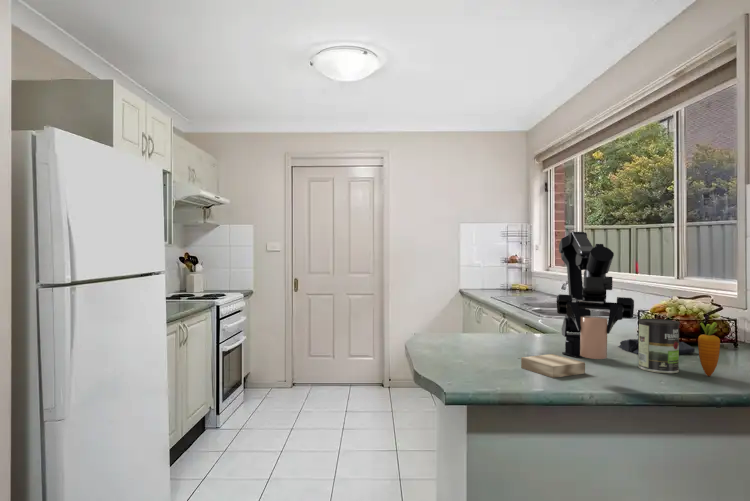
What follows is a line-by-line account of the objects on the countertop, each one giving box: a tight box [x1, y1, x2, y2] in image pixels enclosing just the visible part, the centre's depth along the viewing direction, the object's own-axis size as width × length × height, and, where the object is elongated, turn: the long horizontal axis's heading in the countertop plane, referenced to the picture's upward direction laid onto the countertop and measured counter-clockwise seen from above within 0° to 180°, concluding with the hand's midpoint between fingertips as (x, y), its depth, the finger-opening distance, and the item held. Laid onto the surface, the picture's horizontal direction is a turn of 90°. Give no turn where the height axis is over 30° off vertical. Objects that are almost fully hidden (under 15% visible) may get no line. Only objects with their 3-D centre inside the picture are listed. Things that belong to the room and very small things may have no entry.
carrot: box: [697, 321, 721, 377], centre depth 132 cm, size 5×5×15 cm
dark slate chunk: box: [617, 338, 696, 356], centre depth 166 cm, size 15×22×5 cm
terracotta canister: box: [580, 315, 609, 360], centre depth 126 cm, size 6×6×10 cm
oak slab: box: [520, 353, 586, 379], centre depth 137 cm, size 12×12×3 cm
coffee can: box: [637, 318, 681, 374], centre depth 140 cm, size 10×10×14 cm
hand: (593, 331), depth 124 cm, fingers closed on terracotta canister, 6 cm apart
